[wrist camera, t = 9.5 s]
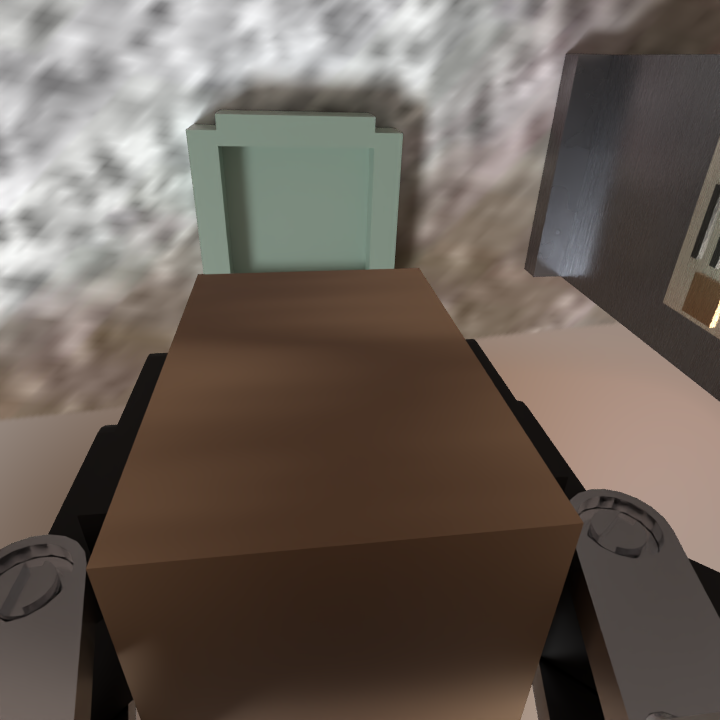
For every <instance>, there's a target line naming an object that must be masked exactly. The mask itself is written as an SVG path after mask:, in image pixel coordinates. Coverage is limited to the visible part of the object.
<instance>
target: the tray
mask: <svg viewBox="0 0 720 720" xmlns="http://www.w3.org/2000/svg"><path fill="white" fill-rule="evenodd" d="M215 121H216V125H208V124H193V125H191V126H190V127H189V128H187V129H186V135H187V144H188V152H189V160H190V168H191V176H192V184H193V192H194V200H195V208H196V216H197V224H198V232H199V240H200V248H201V256H202V264H203V273H204V274H231V273H265V272H299V271H333V270H368V269H394V264H395V249H396V234H397V218H398V203H399V188H400V172H401V157H402V142H403V133H402V132H400V131H398V130H397V129H395V128H375V121H376V117H374V116H373V115H371V114H370V113H353V112H307V111H261V110H219V111H218V112H217V113H215Z"/></svg>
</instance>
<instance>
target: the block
mask: <svg viewBox="0 0 720 720" xmlns="http://www.w3.org/2000/svg"><path fill="white" fill-rule="evenodd" d="M583 524H584V523H583V521H582V520H581V518H580V517H579V515H578V513H577V512H576V510H575V509H574V507H573V506H572V504H571V503H570V501H569V500H568V498H567V496H566V495H565V493H564V492H563V490H562V489H561V487H560V486H559V484H558V482H557V481H556V479H555V478H554V476H553V475H552V473H551V472H550V470H549V469H548V467H547V465H546V464H545V462H544V461H543V459H542V458H541V456H540V455H539V453H538V452H537V450H536V448H535V447H534V445H533V444H532V442H531V441H530V439H529V438H528V436H527V435H526V433H525V431H524V430H523V428H522V427H521V425H520V424H519V422H518V421H517V419H516V417H515V416H514V414H513V413H512V411H511V410H510V408H509V407H508V405H507V404H506V402H505V400H504V399H503V397H502V396H501V394H500V393H499V391H498V390H497V388H496V387H495V385H494V383H493V382H492V380H491V379H490V377H489V376H488V374H487V373H486V371H485V369H484V368H483V366H482V365H481V363H480V362H479V360H478V359H477V357H476V356H475V354H474V352H473V351H472V349H471V348H470V346H469V345H468V343H467V342H466V340H465V339H464V337H463V335H462V334H461V332H460V331H459V329H458V328H457V326H456V325H455V323H454V322H453V320H452V318H451V317H450V315H449V314H448V312H447V311H446V309H445V308H444V306H443V304H442V303H441V301H440V300H439V298H438V297H437V295H436V294H435V292H434V291H433V289H432V287H431V286H430V284H429V283H428V281H427V280H426V278H425V277H424V275H423V274H422V272H421V270H420V269H419V268H402V269H368V270H333V271H299V272H265V273H231V274H198V276H197V279H196V281H195V284H194V286H193V289H192V292H191V294H190V297H189V300H188V302H187V305H186V307H185V310H184V313H183V315H182V318H181V321H180V323H179V326H178V328H177V331H176V334H175V336H174V339H173V342H172V344H171V347H170V349H169V352H168V355H167V357H166V360H165V363H164V365H163V368H162V370H161V373H160V376H159V378H158V381H157V384H156V386H155V389H154V391H153V394H152V397H151V399H150V402H149V405H148V407H147V410H146V412H145V415H144V418H143V420H142V423H141V426H140V428H139V431H138V433H137V436H136V439H135V441H134V444H133V447H132V449H131V452H130V454H129V457H128V460H127V462H126V465H125V467H124V470H123V473H122V475H121V478H120V481H119V483H118V486H117V488H116V491H115V494H114V496H113V499H112V502H111V504H110V507H109V509H108V512H107V515H106V517H105V520H104V523H103V525H102V528H101V530H100V533H99V536H98V538H97V541H96V544H95V546H94V549H93V551H92V554H91V557H90V559H89V562H88V565H87V567H86V571H87V574H88V576H89V579H90V582H91V585H92V587H93V590H94V593H95V596H96V598H97V601H98V604H99V606H100V609H101V612H102V615H103V617H104V620H105V623H106V626H107V628H108V631H109V634H110V637H111V639H112V642H113V645H114V648H115V650H116V653H117V656H118V658H119V661H120V664H121V667H122V669H123V672H124V675H125V678H126V680H127V683H128V686H129V689H130V691H131V694H132V697H133V700H134V702H135V705H136V708H137V710H138V713H139V716H140V718H141V720H520V719H521V716H522V713H523V710H524V707H525V704H526V701H527V697H528V694H529V691H530V688H531V685H532V682H533V679H534V676H535V673H536V670H537V667H538V663H539V660H540V657H541V654H542V651H543V648H544V645H545V642H546V639H547V636H548V632H549V629H550V626H551V623H552V620H553V617H554V614H555V611H556V608H557V605H558V601H559V598H560V595H561V592H562V589H563V586H564V583H565V580H566V577H567V574H568V571H569V567H570V564H571V561H572V558H573V555H574V552H575V549H576V546H577V543H578V540H579V536H580V533H581V530H582V527H583Z"/></svg>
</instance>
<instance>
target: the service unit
mask: <svg viewBox="0 0 720 720" xmlns="http://www.w3.org/2000/svg"><path fill="white" fill-rule="evenodd" d="M524 269H525V270H526V271H528V272H529V273H530V274H531V275H532V276H533V277H546V276H561V277H562V278H564V279H565V280H566V281H567V282H569V283H570V284H571V285H573V286H574V287H575V288H576V289H578V290H579V291H580V292H581V293H583V294H584V295H585V296H587V297H588V298H589V299H590V300H592V301H593V302H594V303H595V304H597V305H598V306H599V307H600V308H602V309H603V310H604V311H606V312H607V313H608V314H609V315H611V316H612V317H613V318H614V319H616V320H617V321H618V322H619V323H621V324H622V325H623V326H625V327H626V328H627V329H628V330H630V331H631V332H632V333H633V334H635V335H636V336H637V337H639V338H640V339H641V340H642V341H644V342H645V343H646V344H647V345H649V346H650V347H651V348H653V349H654V350H655V351H656V352H658V353H659V354H660V355H661V356H663V357H664V358H665V359H667V360H668V361H669V362H670V363H672V364H673V365H674V366H675V367H677V368H678V369H679V370H680V371H682V372H683V373H684V374H685V375H687V376H688V377H689V378H691V379H692V380H693V381H694V382H696V383H697V384H698V385H699V386H701V387H702V388H703V389H705V390H706V391H707V392H708V393H710V394H711V395H712V396H713V397H715V398H716V399H717V400H718V401H720V54H690V55H600V54H566V57H565V62H564V67H563V72H562V77H561V82H560V88H559V93H558V98H557V103H556V108H555V113H554V119H553V124H552V129H551V134H550V139H549V144H548V149H547V155H546V160H545V165H544V170H543V175H542V180H541V186H540V191H539V196H538V201H537V206H536V211H535V216H534V222H533V227H532V232H531V237H530V242H529V247H528V253H527V258H526V263H525V268H524Z"/></svg>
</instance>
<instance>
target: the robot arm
mask: <svg viewBox="0 0 720 720" xmlns="http://www.w3.org/2000/svg"><path fill="white" fill-rule="evenodd" d="M465 340H466V342H467V343H468V345H469V346H470V348H471V349H472V351H473V352H474V354H475V356H476V357H477V359H478V360H479V362H480V363H481V365H482V366H483V368H484V369H485V371H486V373H487V374H488V376H489V377H490V379H491V380H492V382H493V383H494V385H495V387H496V388H497V390H498V391H499V393H500V394H501V396H502V397H503V399H504V400H505V402H506V404H507V405H508V407H509V408H510V410H511V411H512V413H513V414H514V416H515V417H516V419H517V421H518V422H519V424H520V425H521V427H522V428H523V430H524V431H525V433H526V435H527V436H528V438H529V439H530V441H531V442H532V444H533V445H534V447H535V448H536V450H537V452H538V453H539V455H540V456H541V458H542V459H543V461H544V462H545V464H546V465H547V467H548V469H549V470H550V472H551V473H552V475H553V476H554V478H555V479H556V481H557V482H558V484H559V486H560V487H561V489H562V490H563V492H564V493H565V495H566V496H567V498H568V500H569V501H570V503H571V504H572V506H573V507H574V509H575V510H576V512H577V513H578V515H579V517H580V518H581V520H582V521H583V523H584V524H583V527H582V530H581V533H580V536H579V540H578V543H577V546H576V549H575V552H574V555H573V558H572V561H571V564H570V567H569V571H568V574H567V577H566V580H565V583H564V586H563V589H562V592H561V595H560V598H559V601H558V605H557V608H556V611H555V614H554V617H553V620H552V623H551V626H550V629H549V632H548V636H547V639H546V642H545V645H544V648H543V651H542V654H541V657H540V660H539V663H538V667H537V670H536V673H535V676H534V679H533V682H532V685H533V692H534V697H535V703H536V709H537V714H538V720H720V573H719V572H717V571H715V570H713V569H710V568H708V567H706V566H704V565H702V564H699V563H698V562H695V561H693V560H691V559H689V558H688V557H687V556H686V554H685V552H684V550H683V548H682V546H681V544H680V542H679V540H678V538H677V536H676V535H675V533H674V531H673V529H672V528H671V526H670V525H669V524H668V522H667V521H666V520H665V518H664V517H663V516H661V515H660V514H659V513H658V512H657V511H656V510H655V509H653V508H652V507H651V506H649V505H647V504H646V503H644V502H642V501H641V500H639V499H637V498H635V497H632V496H629V495H627V494H624V493H621V492H617V491H612V490H606V489H591V490H587V491H586V490H585V488H584V487H583V486H582V484H581V483H580V481H579V480H578V478H577V477H576V476H575V474H574V473H573V471H572V470H571V468H570V467H569V466H568V464H567V463H566V461H565V460H564V458H563V457H562V456H561V455H560V453H559V451H558V450H557V449H556V447H555V446H554V444H553V443H552V441H551V440H550V438H549V437H548V436H547V435H546V433H545V431H544V430H543V428H542V427H541V426H540V424H539V423H538V421H537V420H536V419H535V417H534V416H533V414H532V413H531V412H530V410H529V409H528V407H527V406H526V405H525V404H524V403H523V402H521V401H517V400H516V399H515V397H514V396H513V395H512V393H511V391H510V390H509V389H508V387H507V386H506V384H505V383H504V381H503V380H502V378H501V377H500V375H499V374H498V373H497V371H496V369H495V368H494V367H493V365H492V364H491V362H490V361H489V359H488V358H487V356H486V355H485V353H484V352H483V350H482V349H481V348H480V346H479V345H478V343H477V342H476V341H475V340H474V339H465ZM167 355H168V353H155V354H149V356H148V357H147V360H146V362H145V364H144V366H143V369H142V371H141V373H140V375H139V378H138V380H137V382H136V384H135V386H134V389H133V391H132V393H131V395H130V398H129V400H128V402H127V404H126V407H125V409H124V411H123V414H122V416H121V418H120V420H119V422H118V425H107V426H104V427H102V428H101V429H100V430H99V432H98V433H97V435H96V437H95V440H94V442H93V444H92V446H91V448H90V450H89V452H88V454H87V456H86V458H85V460H84V462H83V464H82V466H81V468H80V470H79V472H78V474H77V476H76V478H75V480H74V482H73V485H72V487H71V489H70V491H69V493H68V495H67V497H66V499H65V501H64V503H63V505H62V507H61V509H60V511H59V513H58V515H57V517H56V519H55V522H54V523H53V526H52V528H51V530H50V532H49V534H48V535H42V536H34V537H29V538H27V539H23V540H20V541H17V542H14V543H11V544H10V545H8V546H6V547H4V548H2V549H0V720H136V705H135V702H134V700H133V697H132V694H131V691H130V689H129V686H128V683H127V680H126V678H125V675H124V672H123V669H122V667H121V664H120V661H119V658H118V656H117V653H116V650H115V648H114V645H113V642H112V639H111V637H110V634H109V631H108V628H107V626H106V623H105V620H104V617H103V615H102V612H101V609H100V606H99V604H98V601H97V598H96V596H95V593H94V590H93V587H92V585H91V582H90V579H89V576H88V574H87V571H86V567H87V565H88V562H89V559H90V557H91V554H92V551H93V549H94V546H95V544H96V541H97V538H98V536H99V533H100V530H101V528H102V525H103V523H104V520H105V517H106V515H107V512H108V509H109V507H110V504H111V502H112V499H113V496H114V494H115V491H116V488H117V486H118V483H119V481H120V478H121V475H122V473H123V470H124V467H125V465H126V462H127V460H128V457H129V454H130V452H131V449H132V447H133V444H134V441H135V439H136V436H137V433H138V431H139V428H140V426H141V423H142V420H143V418H144V415H145V412H146V410H147V407H148V405H149V402H150V399H151V397H152V394H153V391H154V389H155V386H156V384H157V381H158V378H159V376H160V373H161V370H162V368H163V365H164V363H165V360H166V357H167Z"/></svg>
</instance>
